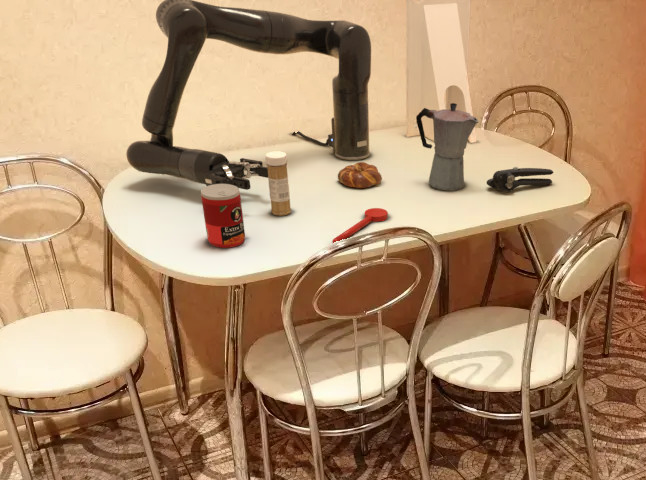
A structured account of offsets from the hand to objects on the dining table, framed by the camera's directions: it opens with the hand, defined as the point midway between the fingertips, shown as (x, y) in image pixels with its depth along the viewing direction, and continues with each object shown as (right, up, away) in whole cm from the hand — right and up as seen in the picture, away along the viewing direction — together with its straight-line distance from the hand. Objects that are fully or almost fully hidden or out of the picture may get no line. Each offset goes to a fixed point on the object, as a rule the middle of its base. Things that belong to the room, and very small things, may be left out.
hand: (261, 179), depth 173 cm
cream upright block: (+43, +26, +53) cm, 73 cm away
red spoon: (+22, -12, -4) cm, 26 cm away
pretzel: (+20, +5, +20) cm, 29 cm away
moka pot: (+42, +4, +20) cm, 46 cm away
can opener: (+61, +3, +19) cm, 64 cm away
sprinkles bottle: (+4, -7, +2) cm, 9 cm away
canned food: (-5, -16, -11) cm, 20 cm away
